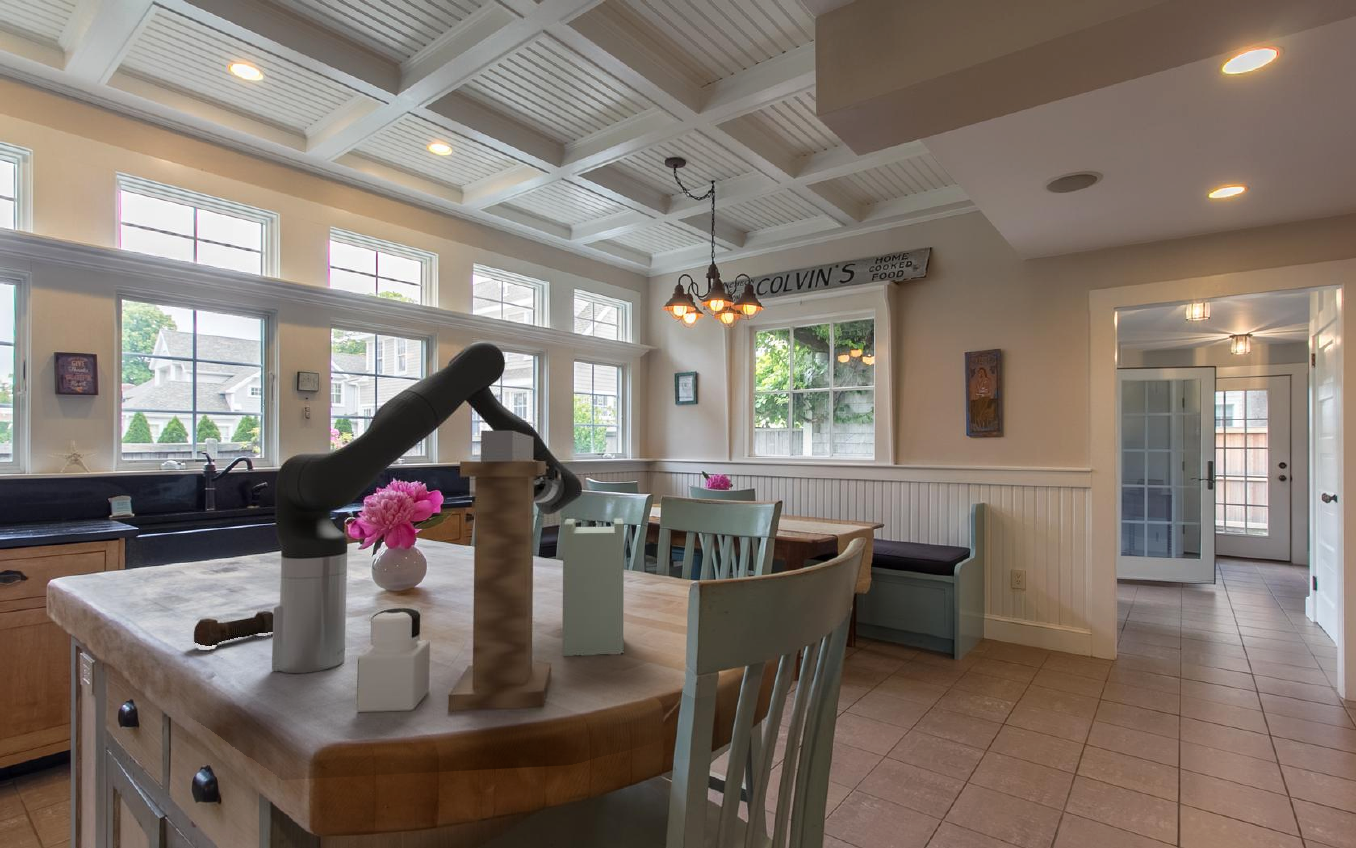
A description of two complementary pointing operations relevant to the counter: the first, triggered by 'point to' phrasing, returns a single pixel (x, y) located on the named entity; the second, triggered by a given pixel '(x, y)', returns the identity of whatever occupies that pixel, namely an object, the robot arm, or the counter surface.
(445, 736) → the counter surface
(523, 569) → the tall column
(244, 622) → the bolt
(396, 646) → the medicine bottle
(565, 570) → the grey tall block
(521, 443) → the brushed steel bar
